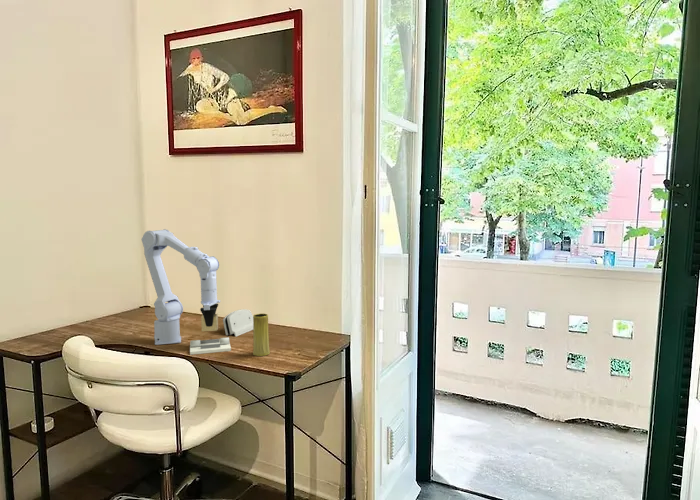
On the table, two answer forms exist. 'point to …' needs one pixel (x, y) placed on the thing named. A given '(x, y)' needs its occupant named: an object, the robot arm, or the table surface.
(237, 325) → the hinge
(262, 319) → the vase
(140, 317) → the table surface
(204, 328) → the coupler
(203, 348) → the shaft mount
